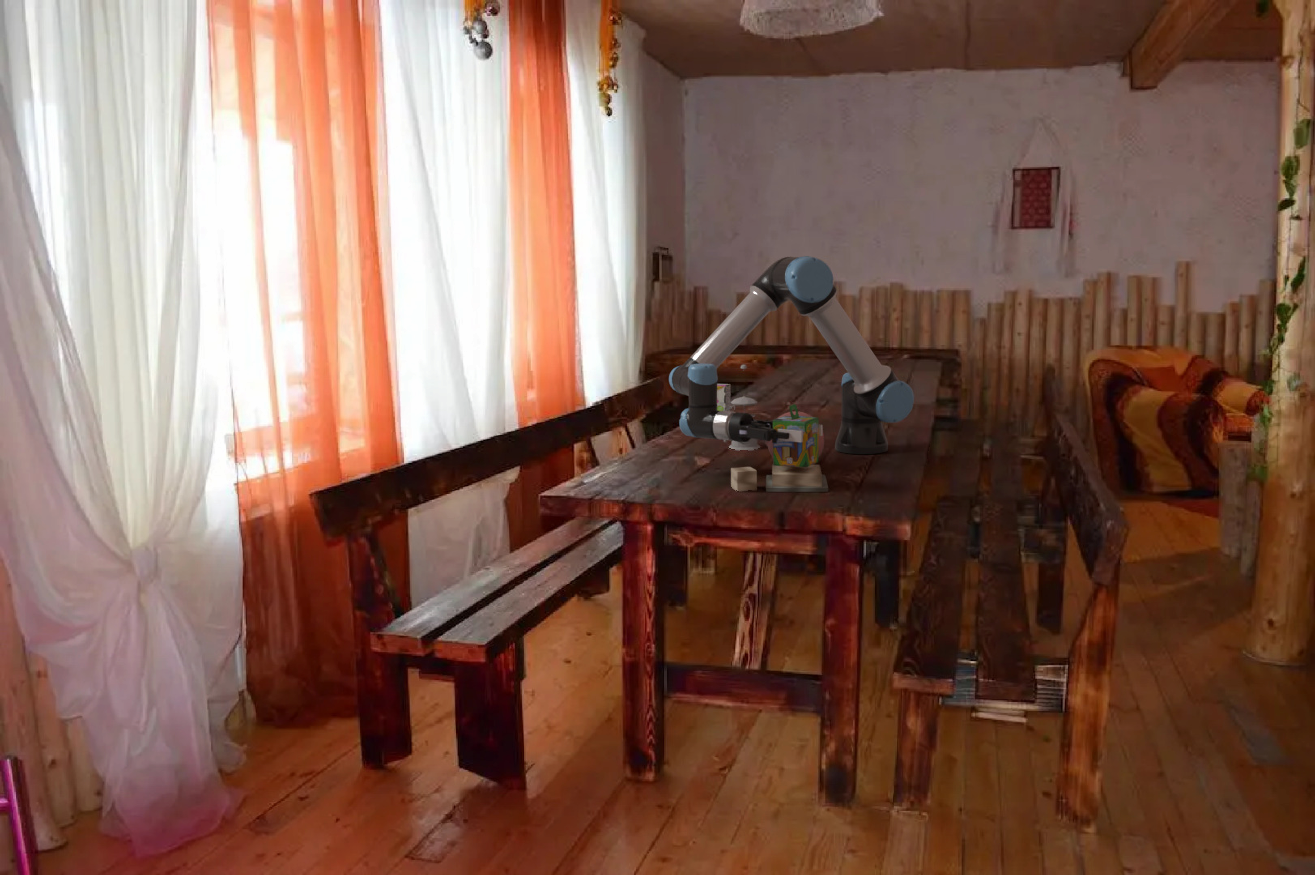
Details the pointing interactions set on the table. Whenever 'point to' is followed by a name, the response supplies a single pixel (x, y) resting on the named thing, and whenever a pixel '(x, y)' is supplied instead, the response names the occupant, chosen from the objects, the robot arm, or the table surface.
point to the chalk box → (797, 451)
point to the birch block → (744, 479)
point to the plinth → (796, 479)
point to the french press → (749, 401)
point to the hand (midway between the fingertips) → (812, 433)
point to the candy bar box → (723, 397)
